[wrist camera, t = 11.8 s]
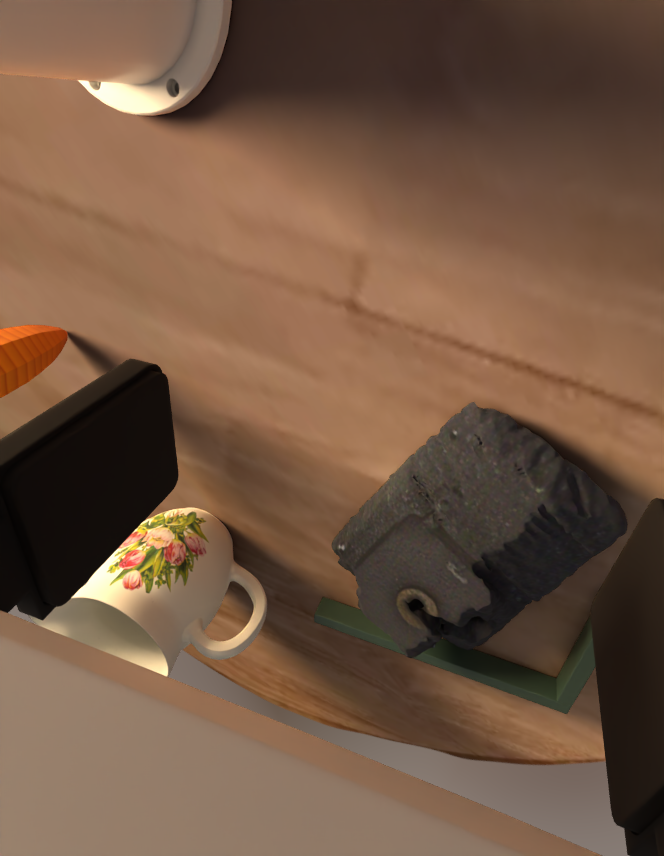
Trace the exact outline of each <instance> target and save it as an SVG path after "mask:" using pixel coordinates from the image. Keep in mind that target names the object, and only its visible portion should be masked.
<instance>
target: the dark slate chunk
mask: <svg viewBox="0 0 664 856" xmlns="http://www.w3.org/2000/svg"><path fill="white" fill-rule="evenodd" d="M389 478H390V479H389V480H388V481H387V482H386V483H385V484H384V485H383V486H382V487H381V488H380V489H379V491H378V492H377V493H375V494H374V495H373V496H372V497H371V499H370V500H368V501H367V502H366V503H365V504H364V505H363V506H362V507H361V508H360V510H359V512H358V513H357V514H356V515H355V516H353V517H351V518H350V520H349V523H347V524H346V525H345V527H344V528H343V529H342V530H341V531H340V532H339V534H338V535H337V536H336V537H335V539H334V540H333V542H332V549H333V551H334V552H335V553H336V554H337V555H338V556H339V557H340V560H339V561H338V563H339V564H340V565H341V566H342V567H344V568H345V569H347V570H349V571H350V572H351V573H352V574H353V575H354V576H356V581H357V583H358V585H359V587H358V589H357V591H356V592H357V596H358V599H359V602H358V606H359V608H360V609H361V611H362V613H363V614H364V615H365V616H366V617H367V618H368V619H369V620H370V621H371V622H373V623H374V624H375V625H376V626H377V627H379V628H380V629H382V630H383V631H384V632H385V633H386V634H389V635H390V636H391V638H392V640H393V641H394V642H395V643H396V644H397V646H398V647H399V649H400V650H401V651H402V652H403V653H405V655H406V656H407V657H409V658H414V657H416V656H418V655H420V654H421V653H422V652H424V651H426V650H428V649H430V648H435V645H436V642H439V641H440V640H441V638H442V637H443V638H445V639H447V640H448V641H449V642H450V643H453V644H455V645H456V646H458V647H460V648H464V649H466V650H472V649H473V648H474V647H476V646H479V645H482V644H484V643H485V642H487V641H488V639H489V638H490V637H492V636H493V635H494V634H496V633H497V632H498V631H500V630H501V629H502V628H503V627H504V626H505V625H506V624H507V623H508V622H510V621H511V619H513V618H514V617H515V616H516V615H517V614H518V613H519V612H520V611H522V610H523V609H524V608H525V606H526V605H528V604H530V603H531V602H532V601H539V600H540V599H542V597H543V596H544V595H546V594H549V593H550V592H552V591H553V590H554V589H556V588H557V587H558V586H559V585H560V584H561V582H562V581H563V580H564V579H566V578H567V577H569V576H571V575H573V573H574V572H575V571H576V570H577V568H579V567H580V566H582V565H583V564H584V563H585V562H587V561H588V560H589V559H591V558H592V557H593V556H595V555H597V554H598V553H600V552H601V551H603V550H605V549H606V548H608V547H609V546H611V545H612V544H613V543H614V542H615V541H616V539H617V538H619V537H620V536H622V535H624V534H625V533H626V531H627V526H628V524H627V519H626V516H625V513H624V511H623V509H622V508H621V506H620V504H619V503H618V502H617V501H616V500H614V499H613V498H612V497H611V496H609V495H608V494H606V493H605V492H604V491H603V490H602V489H601V488H600V487H599V486H597V485H596V484H595V483H594V482H593V481H592V480H591V479H590V478H589V476H588V475H587V473H586V472H585V471H581V470H580V469H579V468H578V467H577V466H576V465H574V464H572V463H570V462H569V461H568V460H566V459H563V458H562V457H561V456H560V455H559V454H558V453H557V452H556V451H555V450H554V449H553V448H552V447H551V446H550V445H549V444H548V443H547V442H546V441H545V440H544V439H543V438H541V437H540V436H537V435H536V434H534V433H531V432H530V430H528V429H526V428H525V427H523V426H520V425H518V424H517V423H516V421H515V420H514V419H512V418H511V417H510V416H509V415H507V414H502V413H500V412H499V411H497V410H495V409H483V408H479V407H477V405H476V404H475V402H472V403H470V404H469V405H467V406H466V407H465V408H463V410H462V411H461V413H458V414H456V415H454V416H453V417H452V418H451V419H450V420H449V421H448V422H447V423H446V424H445V425H444V426H443V427H442V428H441V430H440V433H439V434H438V435H435V436H431V437H430V438H429V439H428V441H427V443H426V445H424V446H422V447H421V448H419V449H418V450H417V451H416V453H415V454H413V455H411V456H410V457H409V458H408V459H407V460H406V462H405V463H404V464H403V465H402V466H401V467H400V468H399V469H398V470H397V471H396V472H395V473H394V474H392V475H390V477H389Z"/></svg>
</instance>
